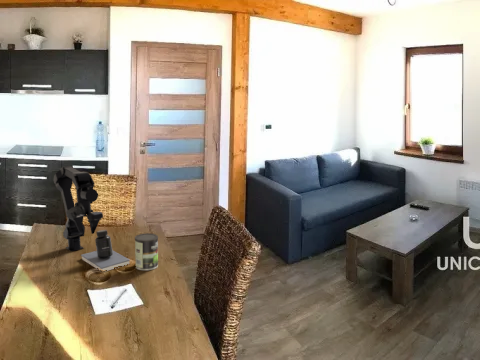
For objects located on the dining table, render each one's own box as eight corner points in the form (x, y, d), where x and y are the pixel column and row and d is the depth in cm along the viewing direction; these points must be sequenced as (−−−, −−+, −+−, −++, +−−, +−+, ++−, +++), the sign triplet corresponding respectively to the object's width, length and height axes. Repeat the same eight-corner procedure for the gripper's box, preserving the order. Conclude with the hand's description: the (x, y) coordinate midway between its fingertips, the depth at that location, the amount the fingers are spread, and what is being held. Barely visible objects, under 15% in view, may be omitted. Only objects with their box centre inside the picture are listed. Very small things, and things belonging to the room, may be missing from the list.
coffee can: (161, 263, 196) (161, 234, 193) (152, 271, 186) (152, 241, 183) (141, 260, 198) (140, 232, 195) (131, 269, 188) (130, 239, 185)
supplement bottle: (106, 258, 190) (101, 232, 189) (94, 258, 193) (90, 233, 192) (116, 253, 196) (112, 228, 195) (105, 253, 199) (100, 229, 198)
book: (81, 260, 197) (80, 254, 197) (108, 253, 207) (108, 247, 207) (102, 274, 184) (101, 267, 183) (130, 265, 194) (130, 259, 193)
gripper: (55, 201, 192) (58, 234, 194) (81, 203, 182) (84, 239, 183) (76, 197, 201) (79, 229, 203) (102, 199, 191) (105, 233, 193)
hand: (86, 232), depth 195 cm, fingers open, 9 cm apart
